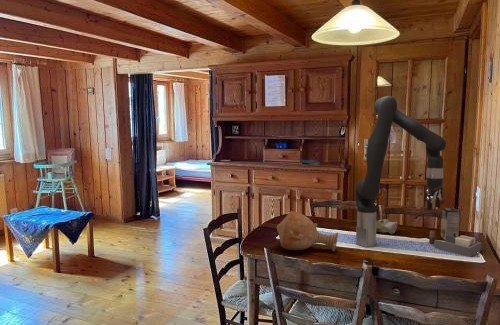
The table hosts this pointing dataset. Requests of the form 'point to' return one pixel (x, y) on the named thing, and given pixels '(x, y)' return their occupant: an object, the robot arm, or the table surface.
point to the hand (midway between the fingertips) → (433, 208)
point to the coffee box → (449, 222)
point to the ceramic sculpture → (386, 226)
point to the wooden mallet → (456, 240)
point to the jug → (302, 233)
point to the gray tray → (457, 246)
